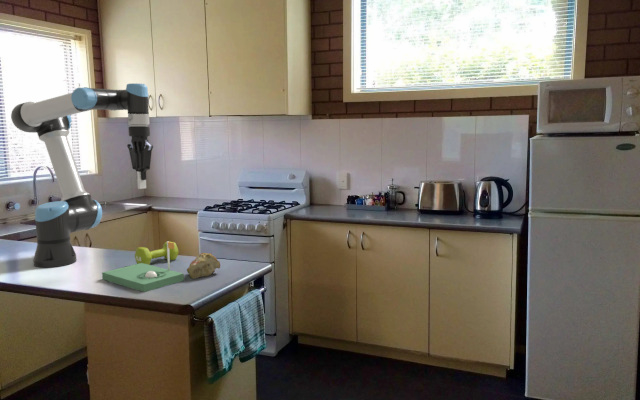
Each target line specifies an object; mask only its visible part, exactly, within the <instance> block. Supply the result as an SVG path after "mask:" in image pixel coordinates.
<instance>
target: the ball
mask: <svg viewBox="0 0 640 400" xmlns="http://www.w3.org/2000/svg"><path fill="white" fill-rule="evenodd" d="M145 277H146V278H152V277H157V274H156V273H155V272H154V271H149V272H147V273H146V274H145Z"/></svg>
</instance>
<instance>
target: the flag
mask: <svg viewBox="0 0 640 400" xmlns="http://www.w3.org/2000/svg"><path fill="white" fill-rule="evenodd" d="M166 242H167V258H168V260H167V269H168V271H170V270H171V265H170V264H171V260H170V257H169V248H170V249H174V243H175V242H174V243H172V242H173V241H168V240H167V241H166Z"/></svg>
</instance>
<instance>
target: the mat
mask: <svg viewBox="0 0 640 400" xmlns="http://www.w3.org/2000/svg"><path fill="white" fill-rule="evenodd" d="M149 271H154V272H155V273H156V274H157V277H152V278H146V277H145V274H146V273H147V272H149ZM101 275H102V280H103V281H106V282H110V283H114V284H117V285H120V286H123V287H126V288H129V289H130V288H131V289H133V290H135V291H140V292H143V293H145V292H149V291H153V290H156V289H160V288H162V287H166V286H170V285H172V284H173V285H174V284H177V283H180V282H183V281H184V282H185V279H184V278H185V276H184V275H185V274H184V273H183V272H179V271H175V270H171V269H170V271H168V268H162V267H158V266H156V265H151V264H149V265H148V264H144V263H139V264H137V263H136V264H131V265H127V266H123V267H119V268H115V269H112V270H107V271H103V272H101Z"/></svg>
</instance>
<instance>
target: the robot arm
mask: <svg viewBox="0 0 640 400" xmlns="http://www.w3.org/2000/svg"><path fill="white" fill-rule="evenodd" d="M148 91H149V90H148V86H147V84H145V83H137V82H136V83H127V84H126V88H125V89H110V88H109V89H107V88H94V87H93V88H92V87H77V88H75V89H74V91H72V92H70V93H67V94H66V93H65V94H63V95H59V96H55V97H51V98H48V99H44V100H41V101H37V102H34V101H26V102H22V103H19V104H17V105H15V106H14V108H13V109H12V111H11V114H10V117H11V118H10V120H11V122H12V124H13V125H14V126H15V128H17V129H18V130H20V131H22V132H25V133H36V134H37V136H38V137H37V138H38V139H39V140H40V141H41V142H43V143H44V144H45V147H46V150H47V151H46V152H47V153H48V156H49V159H50V162H51V165H52V169H53V171H54V175H55V177H56V180H57V183H58V186H59V188H60V192H61V194H62V199H61V200H57V201H56V200H55V201H50V202H45V203H42V204H39V205H38V206H37V207H36V208H35V210H34V220H35V230H36V231H35V232H36V243H37V244H36V248H35V252H34V255H33V258H32V259H33V266H35V267H39V268H55V267H56V268H57V267H62V266H68V265H71V264H74V263H76V262H77V253H76V251H75V249H74V247H73V245H72V241H71V233H75V232H79V231H86V230H87V231H88V230H89V229H93V228H95V227H97V226H98V225H100V223H101V221H102V220H101V219H102V218H103V209H102V205H101V204H100V203H99V202H98V200H96V199H92V198H93V197H92V196H91V194H90V193H89V192H87V191H86V189H85V187H84V184H83V181H82V178H81V175H80V171H79V170H78V166H77V163H76V159H75V157H74V154H73V152H72V148H71V145H70V142H69V140H68V136H69V134H70V128H71V126H72V117H71V115H76V114H80V113H85V112H88V111H93V110H95V111H96V110H101V111H102V110H104V111H106V110H107V111H114V112H115V111H124V110H125V111H127V121H128V122H127V125H129V127H128V136H129V137H131V139H130V143H128V144H127V146H126V147H127V148H128V152H129V156H130V158H129V159H130V162H131V168H132V169H133V170H135V172H136V179H137V189H138V190H143V189H147V171H149V170H150V169H151V161H152V160H151V159H152V151H153V148H154V145H153V144H151V143H149V138H148V137H150V136H151V130H150V128H151V127H150V126H149V125H150V111H149V109H150V108H149V92H148Z"/></svg>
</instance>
